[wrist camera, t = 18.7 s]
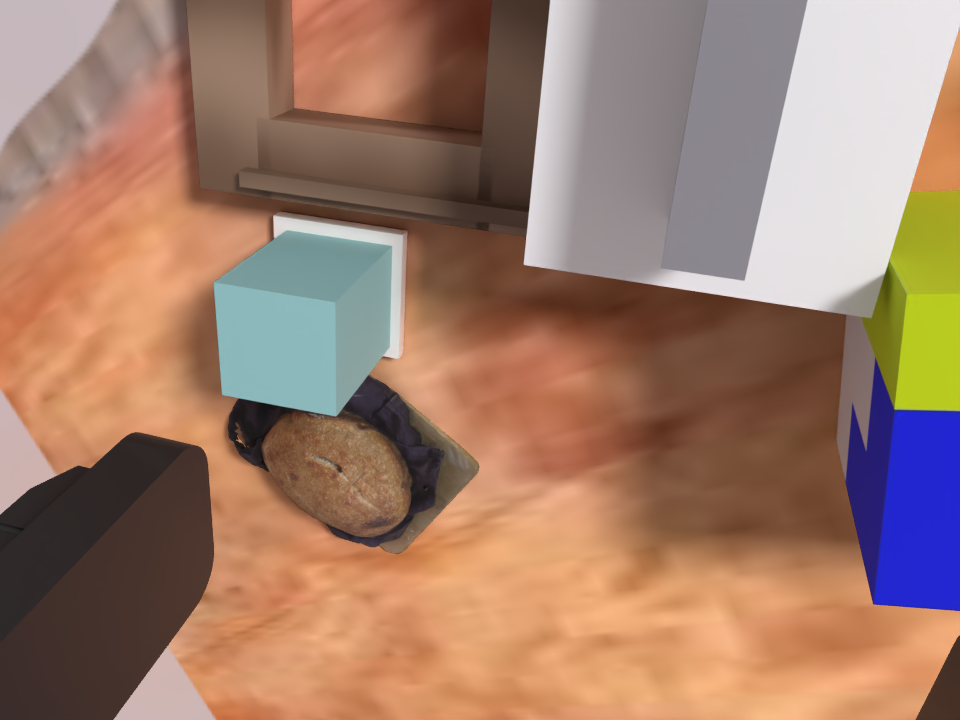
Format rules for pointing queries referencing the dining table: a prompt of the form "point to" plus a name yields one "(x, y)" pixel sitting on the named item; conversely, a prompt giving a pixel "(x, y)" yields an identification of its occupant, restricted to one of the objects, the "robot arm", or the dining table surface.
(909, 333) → the puzzle toy
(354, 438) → the bread roll
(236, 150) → the brown flat frame
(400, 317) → the pad
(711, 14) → the cover
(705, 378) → the dining table surface
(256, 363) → the block
